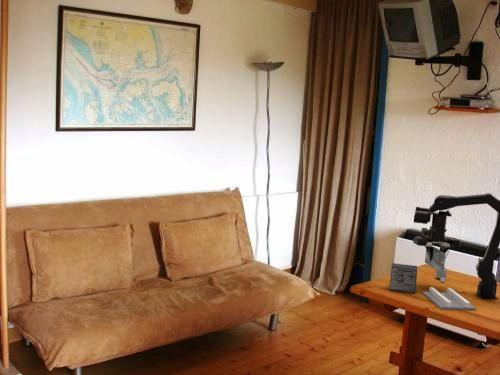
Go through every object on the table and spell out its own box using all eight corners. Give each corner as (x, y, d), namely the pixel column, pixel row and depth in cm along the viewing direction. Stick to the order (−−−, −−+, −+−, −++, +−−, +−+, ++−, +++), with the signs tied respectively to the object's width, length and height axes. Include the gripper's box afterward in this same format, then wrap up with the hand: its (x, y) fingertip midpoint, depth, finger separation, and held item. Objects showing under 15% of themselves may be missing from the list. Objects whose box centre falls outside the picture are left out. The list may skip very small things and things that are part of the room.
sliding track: (455, 295, 253) (456, 288, 253) (475, 310, 236) (476, 302, 235) (422, 294, 252) (423, 287, 251) (440, 309, 234) (441, 301, 234)
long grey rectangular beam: (432, 262, 265) (434, 246, 264) (443, 270, 253) (445, 253, 252) (424, 262, 265) (426, 246, 264) (435, 270, 253) (437, 253, 252)
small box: (415, 289, 258) (418, 265, 256) (415, 294, 252) (417, 269, 250) (389, 286, 261) (392, 262, 259) (389, 290, 254) (391, 266, 253)
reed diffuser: (432, 275, 280) (436, 233, 277) (447, 276, 280) (451, 234, 278) (439, 282, 270) (443, 238, 267) (454, 283, 270) (459, 239, 267)
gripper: (451, 222, 265) (447, 257, 268) (410, 220, 263) (406, 255, 266) (463, 227, 254) (458, 264, 257) (419, 226, 252) (416, 262, 255)
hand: (434, 261), depth 259 cm, fingers closed on long grey rectangular beam, 3 cm apart
